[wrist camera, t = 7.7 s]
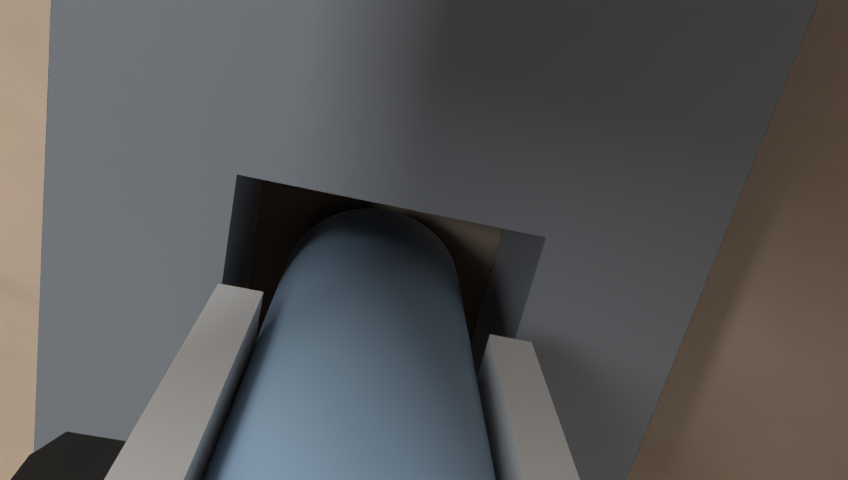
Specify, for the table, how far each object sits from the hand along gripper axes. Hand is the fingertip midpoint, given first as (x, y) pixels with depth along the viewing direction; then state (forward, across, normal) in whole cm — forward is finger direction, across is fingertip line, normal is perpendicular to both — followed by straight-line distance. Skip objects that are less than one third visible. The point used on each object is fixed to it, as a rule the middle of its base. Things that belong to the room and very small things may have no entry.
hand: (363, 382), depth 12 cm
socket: (+5, 0, +3) cm, 6 cm away
